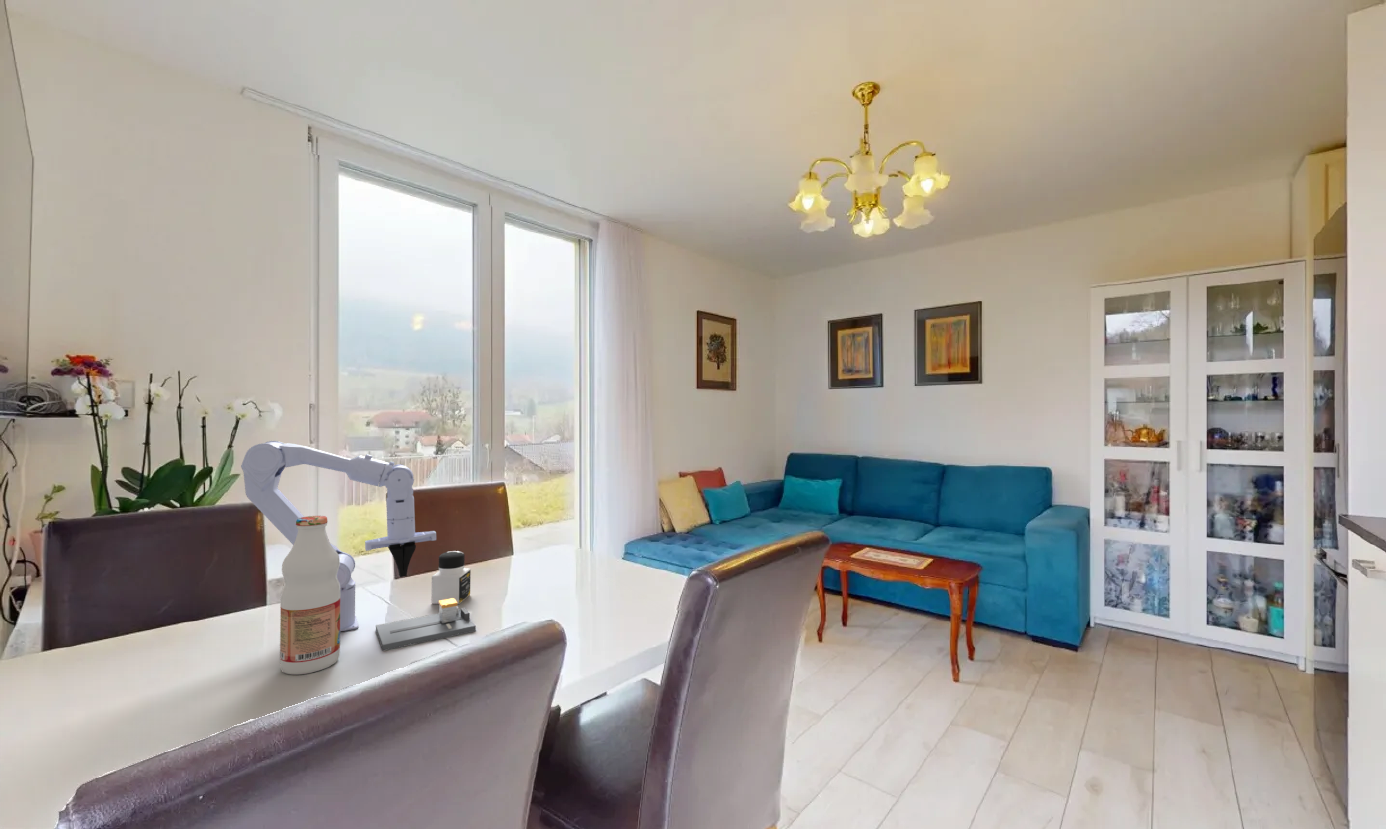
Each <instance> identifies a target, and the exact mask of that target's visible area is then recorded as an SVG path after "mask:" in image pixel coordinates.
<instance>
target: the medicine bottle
mask: <svg viewBox="0 0 1386 829" xmlns="http://www.w3.org/2000/svg"><path fill="white" fill-rule="evenodd" d="M465 558H466V557H465V553H464V552H462V551H459V550H457V551H456V550H452V551H446V552H443V553H441V554H440V555H439V556H438V571H437V572H436V573H435V574H433V575H432V576H431V599H430V600H431V602H430V603H431V604H432V605H439V600H445V599H451V598H454V599H455V600H456V602H457V605H460V604H461V603H462V602H463V601H465V600H466V599H468V597H470V595H471V575H472V574H471V570H472V569H471V568H469V567H468V568H467V567H465Z"/></svg>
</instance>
